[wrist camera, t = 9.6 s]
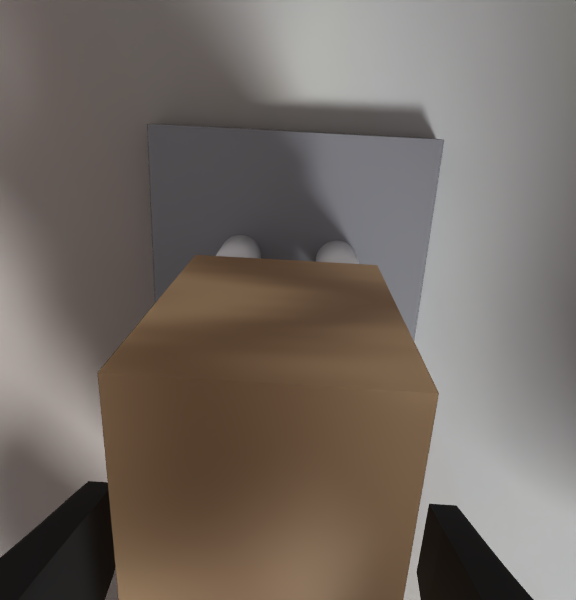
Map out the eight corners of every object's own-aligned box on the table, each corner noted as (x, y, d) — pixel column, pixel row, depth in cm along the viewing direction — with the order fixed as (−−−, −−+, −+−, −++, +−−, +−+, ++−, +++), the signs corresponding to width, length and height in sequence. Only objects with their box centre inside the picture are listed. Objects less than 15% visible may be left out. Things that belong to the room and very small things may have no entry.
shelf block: (377, 265, 12) (439, 393, 6) (336, 622, 16) (352, 893, 10) (195, 255, 12) (97, 372, 6) (201, 613, 16) (144, 877, 11)
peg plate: (436, 138, 14) (472, 144, 11) (372, 585, 20) (384, 671, 17) (156, 123, 14) (113, 124, 11) (173, 571, 20) (148, 654, 17)
